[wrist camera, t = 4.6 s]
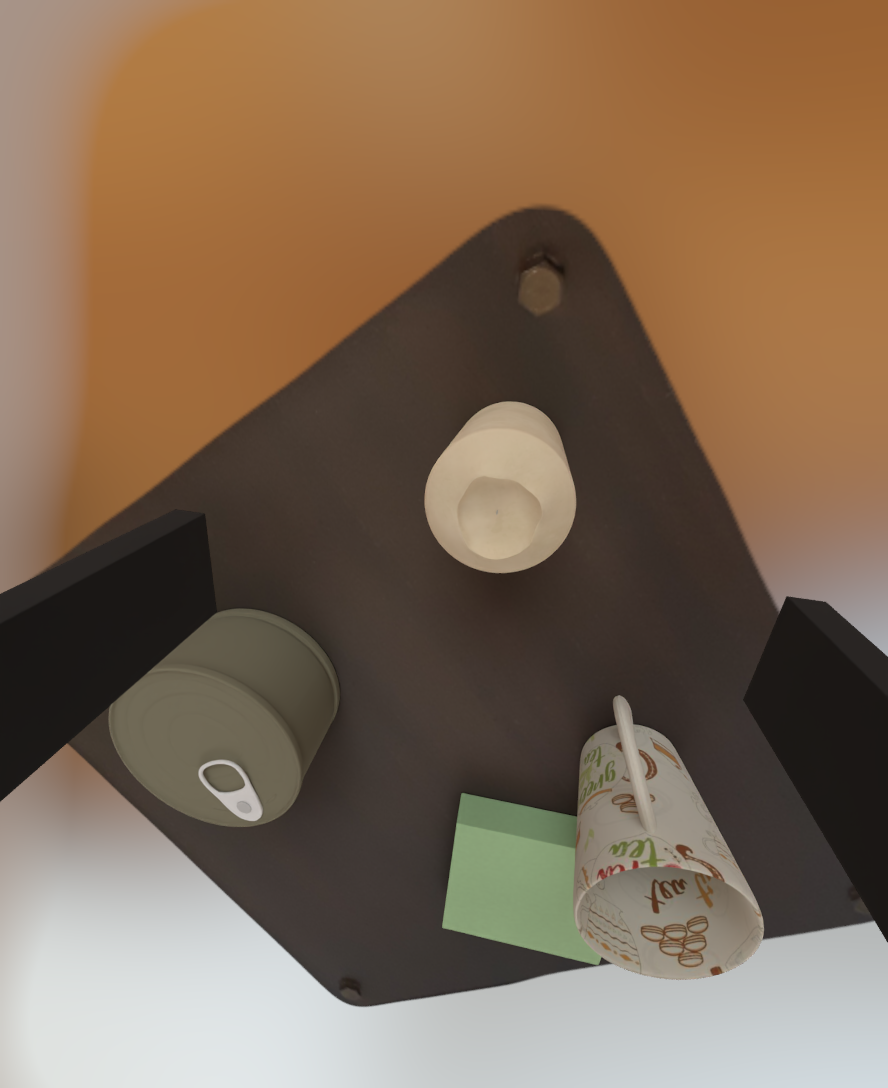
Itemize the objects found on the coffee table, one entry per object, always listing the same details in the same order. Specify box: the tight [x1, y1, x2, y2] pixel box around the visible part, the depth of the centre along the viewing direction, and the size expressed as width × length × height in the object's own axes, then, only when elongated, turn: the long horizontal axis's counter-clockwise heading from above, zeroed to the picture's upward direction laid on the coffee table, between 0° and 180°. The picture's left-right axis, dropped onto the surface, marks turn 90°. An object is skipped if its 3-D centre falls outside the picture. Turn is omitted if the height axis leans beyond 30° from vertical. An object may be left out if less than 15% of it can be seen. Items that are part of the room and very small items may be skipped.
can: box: [109, 609, 340, 827], centre depth 31 cm, size 12×12×7 cm
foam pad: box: [442, 793, 601, 965], centre depth 36 cm, size 12×12×2 cm
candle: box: [425, 401, 576, 573], centre depth 21 cm, size 6×6×10 cm
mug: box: [573, 695, 764, 980], centre depth 27 cm, size 8×13×10 cm, turn 19°
